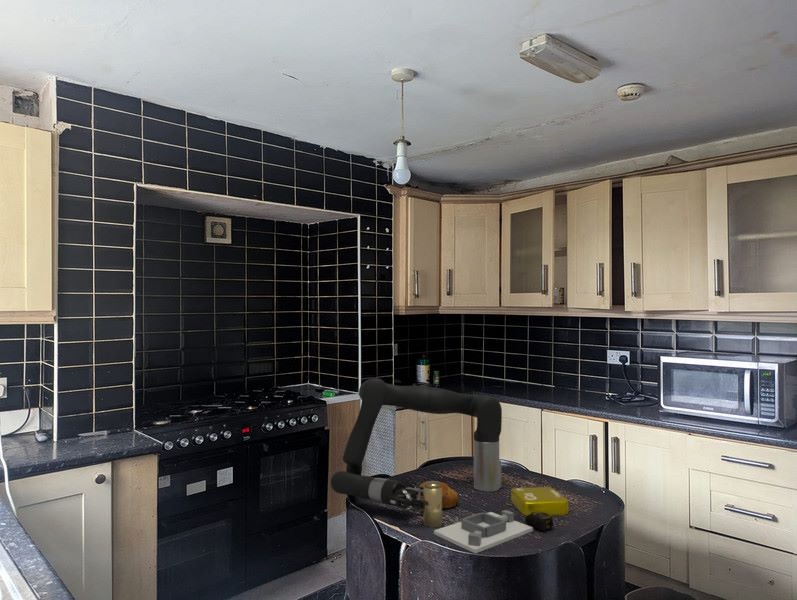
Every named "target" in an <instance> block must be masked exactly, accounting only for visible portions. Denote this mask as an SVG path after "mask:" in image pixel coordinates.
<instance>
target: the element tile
mask: <svg viewBox="0 0 797 600" xmlns="http://www.w3.org/2000/svg"><path fill="white" fill-rule="evenodd" d="M510 494H511V495H510V502H511V504H513V505H514V507H516V508H517V510H518V511H519V512H520V513H521V514H522V515H524V516H525V517H526V516H527V515H529V514H531V513H532V512H546V513H548V514H550V515H551V516H560V515H561V516H564V515H565V516H566V515H568V514H569V500H568V498H566V497H565V496H564V495H563V494H561V493H560V492H559V491H557V490H556V489H555V488H554V487H552V486H542V487H541V486H540V487H515V488H514V487H513V488H511V490H510Z"/></svg>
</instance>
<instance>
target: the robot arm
mask: <svg viewBox="0 0 797 600" xmlns="http://www.w3.org/2000/svg"><path fill="white" fill-rule="evenodd" d="M358 395H359V398H360V400H361V403H360V404H361V405H360V408H359V412H358V416H357V418H356V421H355V423H354V425H353V427H352V430H351V432H350V434H349V437H348V439H347V443H346V446H345V448H344V452H343V456H342V461H343V463H344V464H346V469H345V471H344V470H339V471H337V472H335V473H333V474H332V475H331V477H330V478H331V479H330V487H331V489H332V490H333V491H334V492H335V493H337V494H340V495H341V494H342V495H348V496H353V497H354V496H355V497H358V498H361V499H365V500H368V501H373V502H375V503H378V504H383V505H387V506H391V507H395V508H399V509H403V510H407V509H408V508H411V509H412V508H416V509H419V510H424V507H425V503H424V501H422V500H421V499H424V493H423V492H424V487H421V486H420V485H412V486H411V487H405V485H404V483H402V481H399V480H393V479H389V478H384V477H383V478H382V477H374V476H368V475H363V463H364V460H365V456H366V453H367V449H368V447H369V443H370V439H371V436H372V433H373V428H374V426H375V424H376V421H377V418H378V415H379V413H380V411H381V409H382V407H383V406H391V407H392V406H393V407H398V408H403V409H406V410H410V411H415V412H419V413H426V414H433V415H445V414H446V415H448V414H462V415H466V416H470V417H474V418H476V429H475V431H474V432H473V488H474V489H475V490H477V491H481V492H496V491H497V492H498V490H500V488H502V461H501V460H500V436H501V433H502V422H503V419H502V418H503V415H502V413H503V411H502V410H503V409H502V404H501V403H500V401H499V400H498V399H497V398H496V397H494V396H490V395H488V394H481V393H479V394H478V393H477V394H476V393H473V394H472V393H471V394H470V393H461V392H460V393H459V392H456V391H453V390H449V389H445V388H439V387H433V386H426V385H425V386H424V385H397V384H396V385H395V384H392V383H387V382H385V381H384V380H383V379H381V378H376V377H374V378H369V379H366V380H365V381H364V382H363V383H362V384H361V385H360V386H359V389H358ZM416 495H418V497H417V498H416Z"/></svg>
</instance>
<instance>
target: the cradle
mask: <svg viewBox="0 0 797 600" xmlns="http://www.w3.org/2000/svg"><path fill="white" fill-rule="evenodd" d="M533 531H534V527H532V526H530V525H528V524H526V523H522V522H519V521H516V520H515V512H512V511H511V510H507V509H505V510H501V514H498V513H495V512H492V511H489V512H486V511H485V512H484V511H483V512H478V513H475V514H472V515H468V516H465V517H463V518H462V519H461V521H459V522H455V523H453V524H451V525H446V526H444V527H441V528H437V529H435V530H433V535H435V536H437V537H439V538H441V539H444V540H445V541H447V542H450V543H452V544H454V545H456V546H458V547H460V548H463V549H464V550H467V551H469V552H471V553H473V554H478V553H480V552H482V551H485V550H488V549H491V548H493V547H496V546H499V545H500V544H503V543H506V542H509V541H511V540H513V539H517V538H519V537H521V536H523V535H526V534H528V533H531V532H533Z"/></svg>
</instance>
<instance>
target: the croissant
mask: <svg viewBox="0 0 797 600" xmlns="http://www.w3.org/2000/svg"><path fill="white" fill-rule="evenodd" d="M425 482H426V481H425ZM425 482H422V483H420V485H419V486H421V487H424V485H425ZM439 482H440V483H441V486H442V509H451V508H452V507H456V505H457V503H458V502H459V498H458V497H459V496H458V493H457V492H456V491H455V490H454V489H452V488H451V487H450V486H449V485H448V484H447V483H445V482H441V481H439ZM423 493H424V492H423ZM417 497H418V495H416V498H417ZM421 500H422V501H424V499H421Z"/></svg>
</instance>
